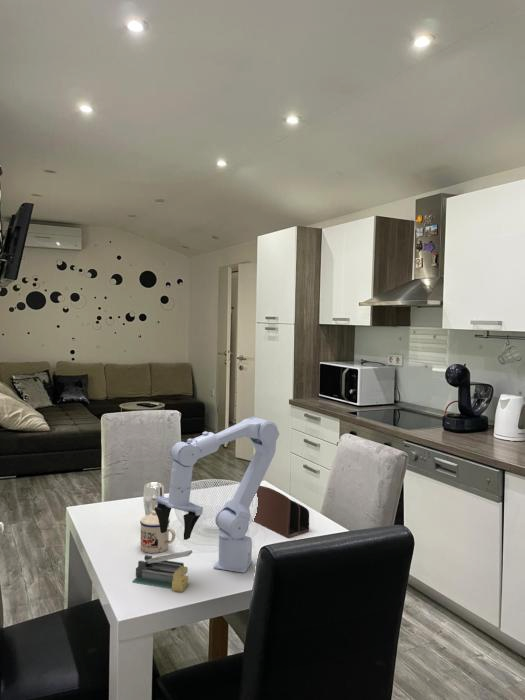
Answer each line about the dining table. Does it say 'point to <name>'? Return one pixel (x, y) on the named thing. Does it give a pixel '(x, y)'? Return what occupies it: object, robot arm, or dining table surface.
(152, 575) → the block
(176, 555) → the grey long flat bar
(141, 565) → the grey forked bracket
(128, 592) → the dining table surface
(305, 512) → the letter holder
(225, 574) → the dining table surface
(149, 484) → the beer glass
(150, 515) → the teacup with lid
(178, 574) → the clip
